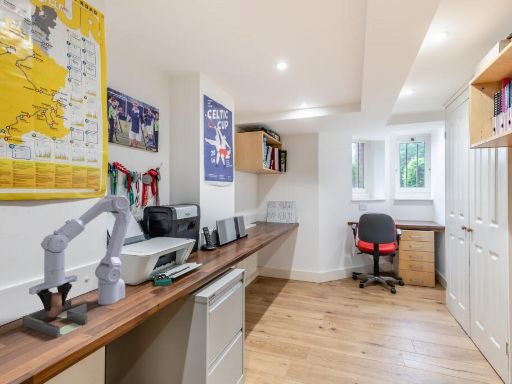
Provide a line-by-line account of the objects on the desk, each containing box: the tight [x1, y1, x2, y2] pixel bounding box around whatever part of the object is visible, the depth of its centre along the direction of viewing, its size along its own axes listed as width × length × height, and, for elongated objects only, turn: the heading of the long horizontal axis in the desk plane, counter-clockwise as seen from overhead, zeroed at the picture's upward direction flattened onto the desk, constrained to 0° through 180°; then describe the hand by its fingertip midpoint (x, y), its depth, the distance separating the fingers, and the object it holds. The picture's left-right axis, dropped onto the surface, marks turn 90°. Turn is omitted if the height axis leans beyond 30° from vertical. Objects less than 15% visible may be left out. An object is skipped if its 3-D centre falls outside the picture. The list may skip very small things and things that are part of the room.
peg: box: [47, 291, 63, 318], centre depth 96 cm, size 4×4×7 cm
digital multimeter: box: [152, 271, 172, 287], centre depth 139 cm, size 7×15×3 cm, turn 26°
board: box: [56, 308, 82, 336], centre depth 94 cm, size 16×22×1 cm
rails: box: [22, 299, 89, 339], centre depth 95 cm, size 15×18×3 cm
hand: (54, 307), depth 96 cm, fingers closed on peg, 4 cm apart
